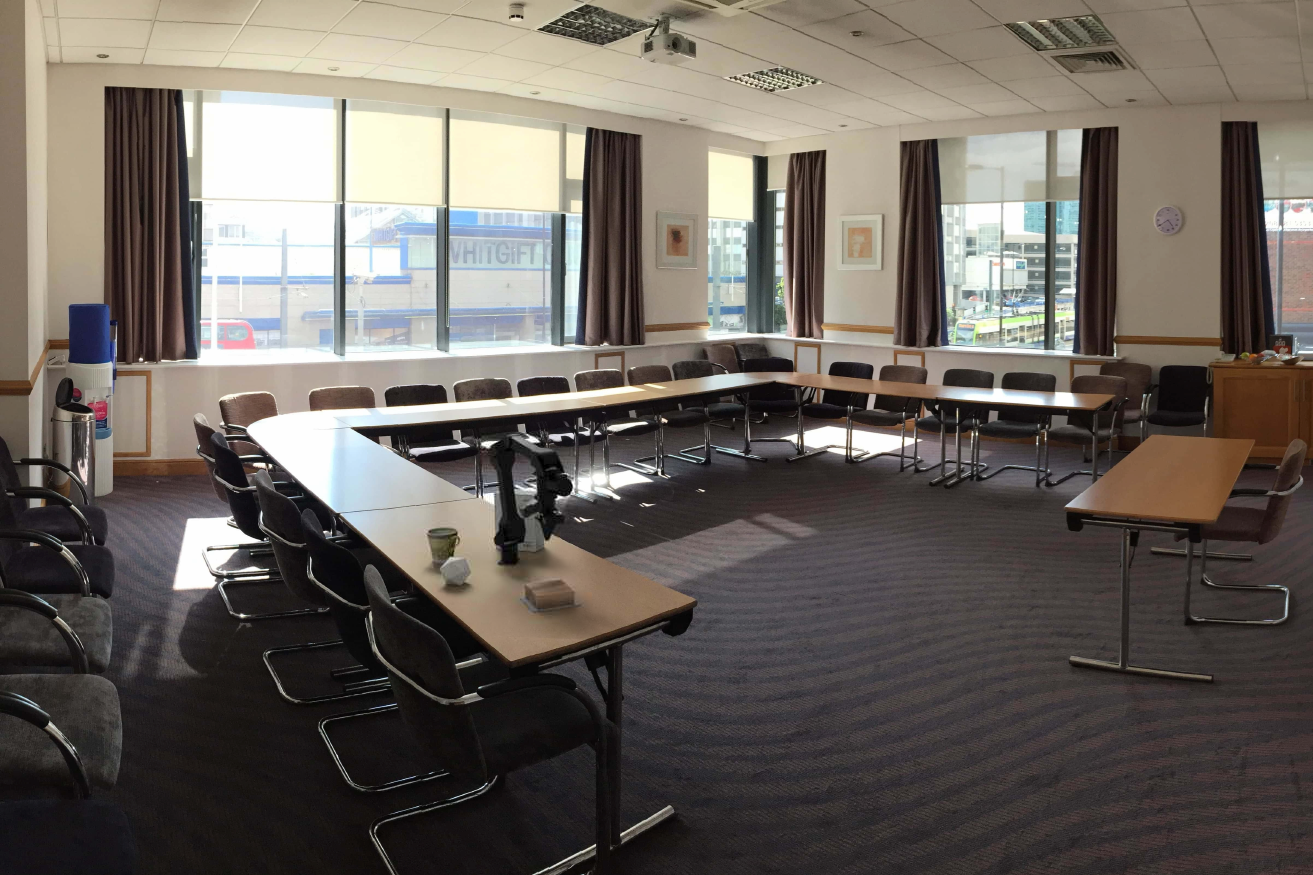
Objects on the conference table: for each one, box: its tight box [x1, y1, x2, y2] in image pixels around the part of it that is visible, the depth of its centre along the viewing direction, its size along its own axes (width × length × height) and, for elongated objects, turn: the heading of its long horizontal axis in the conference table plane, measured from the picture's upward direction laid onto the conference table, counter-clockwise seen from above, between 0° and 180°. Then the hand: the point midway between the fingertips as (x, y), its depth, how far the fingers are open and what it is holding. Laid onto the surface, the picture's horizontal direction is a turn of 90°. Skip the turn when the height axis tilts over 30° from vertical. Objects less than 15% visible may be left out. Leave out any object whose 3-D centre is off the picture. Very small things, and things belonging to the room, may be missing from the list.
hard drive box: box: [493, 489, 545, 553], centre depth 323 cm, size 16×8×20 cm, turn 74°
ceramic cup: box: [426, 526, 461, 564], centre depth 308 cm, size 13×10×10 cm
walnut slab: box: [524, 578, 575, 610], centre depth 269 cm, size 4×11×12 cm
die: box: [439, 556, 472, 586], centre depth 285 cm, size 8×9×10 cm
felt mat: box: [519, 597, 581, 613], centre depth 269 cm, size 12×14×1 cm
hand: (546, 540), depth 289 cm, fingers closed
